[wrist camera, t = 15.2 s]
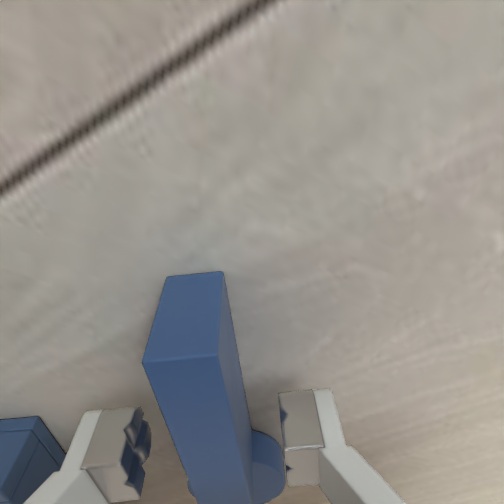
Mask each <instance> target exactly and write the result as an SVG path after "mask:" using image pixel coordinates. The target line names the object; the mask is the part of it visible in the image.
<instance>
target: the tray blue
mask: <svg viewBox="0 0 504 504" xmlns="http://www.w3.org/2000/svg"><path fill="white" fill-rule="evenodd" d="M65 457H66V454H65V453H64V452H63V450H62V449H61V447H60V446H59V445H58V443H57V442H56V440H55V439H54V438H53V436H52V435H51V433H50V432H49V431H48V429H47V428H46V426H45V425H44V424H43V422H42V421H41V419H40V418H39V417H37V416H36V417H26V418H15V419H4V420H0V504H23V503H24V502H25V501H26V500H27V499H28V498H29V497H30V496H31V495H32V494H33V493H34V492H35V491H36V490H37V489H38V488H39V487H40V486H41V485H42V484H43V483H44V482H45V481H46V480H47V479H48V478H49V477H50V476H51V475H52V474H53V473H54V472H57V471H60V469H61V466H62V464H63V461H64V459H65Z"/></svg>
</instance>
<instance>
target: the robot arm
mask: <svg viewBox="0 0 504 504" xmlns="http://www.w3.org/2000/svg"><path fill="white" fill-rule="evenodd" d="M278 398H279V409H280V419H281V428H282V437H283V446H284V456H285V465H286V473H287V482H288V487H293V486H311V485H319V487H320V488H321V490H322V491H323V493H324V494H325V496H326V497H327V498H328V500H329V501H330V503H331V504H407V503H406V502H405V501H404V500H403V499H402V498H401V497H400V496H399V495H398V494H397V492H396V491H395V490H394V489H393V488H392V487H391V486H390V485H389V484H388V483H387V482H386V481H385V480H384V479H383V478H382V477H381V476H380V475H379V473H378V472H377V471H376V470H375V469H374V468H373V467H372V466H371V465H370V464H369V463H368V462H367V461H366V460H365V459H364V458H363V457H362V456H361V454H360V453H359V452H358V451H357V450H356V449H355V448H354V447H353V446H346V442H345V438H344V434H343V430H342V427H341V423H340V419H339V415H338V411H337V408H336V404H335V400H334V396H333V392H332V391H331V389H330V388H325V389H317V390H312V389H311V390H302V391H293V392H284V393H278ZM143 415H144V412H143V410H142V408H141V406H140V407H128V408H115V409H101V410H90V411H86V412H85V414H84V415H83V416H82V418H81V420H80V423H79V425H78V427H77V430H76V432H75V435H74V437H73V440H72V442H71V444H70V447H69V449H68V452H67V454H66V457H65V459H64V461H63V464H62V466H61V469H60V471H57V472H54V473H53V474H52V475H51V476H50V477H49V478H48V479H47V480H46V481H45V482H44V483H43V484H42V485H41V486H40V487H39V488H38V489H37V490H36V491H35V492H34V493H33V494H32V495H31V496H30V497H29V498H28V499H27V500H26V501H25V502H24V503H23V504H109V503H114V502H122V501H131V500H140V496H141V491H142V487H143V482H144V478H145V471H144V469H143V467H142V464H143V463H144V462H145V461H146V460H147V458H148V457H149V454H150V449H151V429H150V426H149V423H148V422H146V421H145V420H143Z"/></svg>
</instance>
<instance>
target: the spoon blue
mask: <svg viewBox="0 0 504 504" xmlns="http://www.w3.org/2000/svg"><path fill="white" fill-rule="evenodd" d="M142 364H143V367H144V369H145V372H146V375H147V377H148V380H149V382H150V385H151V387H152V390H153V392H154V395H155V397H156V400H157V402H158V405H159V407H160V410H161V412H162V415H163V417H164V420H165V422H166V425H167V427H168V430H169V432H170V435H171V437H172V440H173V442H174V445H175V447H176V450H177V452H178V455H179V457H180V460H181V462H182V465H183V468H184V470H185V473H186V475H187V478H188V488H189V491H190V493H191V494H192V495H193V496H194V497H195V498H196V500H197V503H198V504H263V503H266V502H268V501H270V500H272V499H274V498H275V497H277V496H278V495H279V494H280V493H281V492H282V491H283V489H284V486H285V471H284V461H283V452H282V449H281V447H280V445H279V444H278V442H277V441H276V440H275V439H273V438H272V437H270V436H268V435H266V434H264V433H261V432H257V431H253V430H251V424H250V418H249V412H248V407H247V401H246V396H245V390H244V385H243V379H242V374H241V368H240V362H239V357H238V351H237V346H236V340H235V335H234V329H233V324H232V318H231V312H230V307H229V301H228V296H227V290H226V285H225V279H224V274H223V272H222V271H219V272H209V273H200V274H190V275H180V276H171V277H167V278H166V281H165V284H164V287H163V291H162V294H161V298H160V301H159V304H158V308H157V311H156V315H155V318H154V321H153V325H152V328H151V332H150V335H149V338H148V342H147V345H146V348H145V352H144V355H143V359H142Z"/></svg>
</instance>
